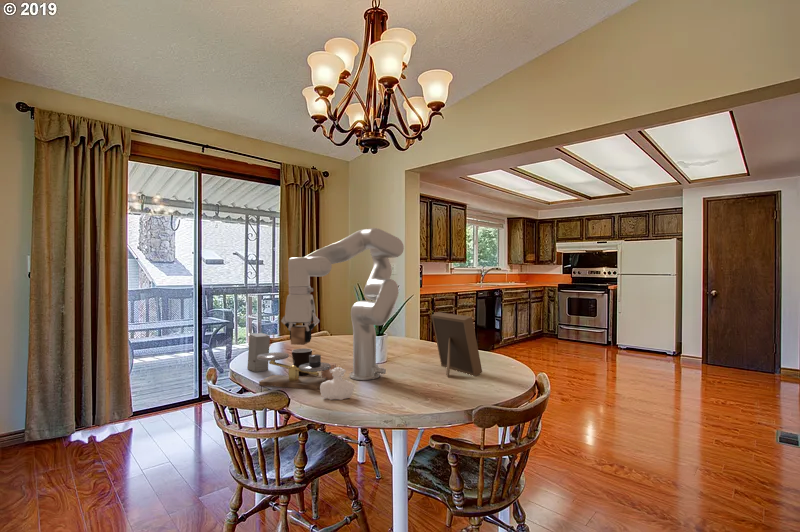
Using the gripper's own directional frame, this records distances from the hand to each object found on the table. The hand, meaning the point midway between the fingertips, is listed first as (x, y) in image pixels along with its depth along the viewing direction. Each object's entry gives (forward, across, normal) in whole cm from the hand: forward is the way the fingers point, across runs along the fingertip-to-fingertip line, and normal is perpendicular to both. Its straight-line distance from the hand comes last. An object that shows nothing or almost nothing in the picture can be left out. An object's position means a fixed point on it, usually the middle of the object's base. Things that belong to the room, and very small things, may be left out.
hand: (300, 340), depth 146 cm
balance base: (+19, +8, -10) cm, 23 cm away
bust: (+19, -14, +2) cm, 24 cm away
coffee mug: (+20, +12, -26) cm, 35 cm away
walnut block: (+1, 0, 0) cm, 1 cm away
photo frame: (+21, -50, -41) cm, 68 cm away
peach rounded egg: (+19, -2, -19) cm, 27 cm away
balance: (+18, +8, -10) cm, 22 cm away
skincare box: (+19, +34, -27) cm, 48 cm away
